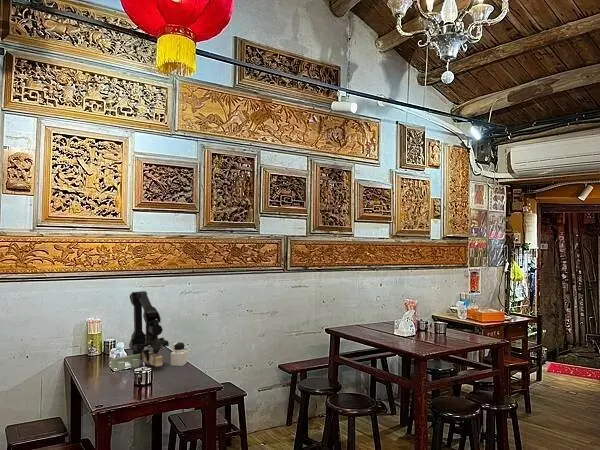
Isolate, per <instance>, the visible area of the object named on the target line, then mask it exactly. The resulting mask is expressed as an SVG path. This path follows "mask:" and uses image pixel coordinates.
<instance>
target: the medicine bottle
mask: <svg viewBox="0 0 600 450" xmlns="http://www.w3.org/2000/svg"><path fill="white" fill-rule="evenodd" d="M172 347H173V349H172V352H170V366H172V367H173V366H175V367H183V366H184V365H186V364H187V363H188V351H187V349H186V350H185V343H184V342H175V343H173V346H172Z"/></svg>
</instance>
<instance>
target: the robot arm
mask: <svg viewBox="0 0 600 450" xmlns="http://www.w3.org/2000/svg"><path fill="white" fill-rule="evenodd" d="M129 300H130V304H131V305H132V306H133V333H132V334H131V338H130V341H129V343H128V347H129V349H130V350H132V351H131V353H132V355H136V354H141V355H140V360H142V351H143V353H144V355H145V357H146V360H147V361H149V351H150V349H149V348H152V352H153V353H155V354H158V355H159V351H160V350H161V349H163V347H169V344H170V343H169V341H168V340H167V339H165V337H160V338H159V336H160V335H161V334H162V333H163V327H162V326H161V325H160V323H161V322H162V321H161V320H162V319H161V316H160V313H159V311H158V310H157V308H156V307H154V306H153V305H152V302H151V301H150V299H149V296H148V292H147V291H146V290H141V291H132V292H131V294H129ZM143 321H144V323H145V333H144V331H143Z"/></svg>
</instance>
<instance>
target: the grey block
mask: <svg viewBox="0 0 600 450" xmlns="http://www.w3.org/2000/svg"><path fill="white" fill-rule="evenodd" d="M140 355H141V354H136V355H127V356H125V355H124V356H121V357H116V358H111V359H110V370H111V369H112V371H114V370H113V369H114V368H117V369H119V370H120V371H123V370H122V369H125V368H126V367H125V362H129V363H130V364H131V365H132V366H131V368H139V367H140V365H141V359H140ZM117 369H116V370H117ZM119 370H118V371H119ZM125 370H126V369H125Z"/></svg>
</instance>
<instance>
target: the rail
mask: <svg viewBox="0 0 600 450" xmlns="http://www.w3.org/2000/svg"><path fill="white" fill-rule="evenodd" d="M141 361H142V362H145V363H147V364H149V365H151V366H154V367H156V368H157V367H162V366H163V355H160V354H159V353H158V354H155V353H153V351H151V350H149V361H147V360H146V357H145V355H144V353H143V351H142V359H141Z"/></svg>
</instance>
